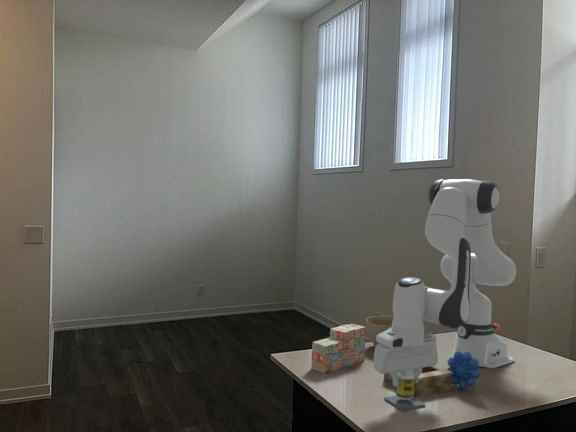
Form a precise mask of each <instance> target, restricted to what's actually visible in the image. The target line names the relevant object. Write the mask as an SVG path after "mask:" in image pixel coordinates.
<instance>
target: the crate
mask: <svg viewBox="0 0 576 432" xmlns="http://www.w3.org/2000/svg"><path fill="white" fill-rule="evenodd" d="M414 371H415V370H414V369H413V373H414ZM398 373H399V371H398ZM452 377H453V373H452V372H450V371H448V370H447V368H446V369H440V368H438V367H437V366H430V367H424V368H422V372H421V374H420V376H419V377H418V383H415V384H414V398H415V397H419V396H427V395H430V394H437V393H443V392H447V391H452V390H453V384H452ZM383 380H384V381H385V382H386V383H388V384H390V385H392V386H394V385H393V379H392V377H391V375H390V373H385V374H383ZM394 387H395V386H394Z"/></svg>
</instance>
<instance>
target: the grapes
mask: <svg viewBox="0 0 576 432" xmlns="http://www.w3.org/2000/svg"><path fill="white" fill-rule="evenodd" d="M471 358H472V355H471V353H470V352H468V351H467V352H464V353H463V354H462V353H461V352H459V351H457V352H456V353H455V354H454V358H453V357H452V356H451V357H449V358H448V359H447V362H446V363H447V366H448V367H447V368H446V370H448V371H450V372H452V373H453V376H452V386H458V387H459V389H461V390H466V389H467V388H468V387H470V388H473V387H474V386H476V385H477V379H478V378H479V377H481V375H482V372H481V369H479V368H478V367H479V366H478V365H479V361H478V360H477V359H476V358H472V359H471Z"/></svg>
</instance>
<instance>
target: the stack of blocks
mask: <svg viewBox="0 0 576 432" xmlns="http://www.w3.org/2000/svg"><path fill="white" fill-rule="evenodd" d="M366 332H367V326H363V325H360V324H355V323H350V324H349V323H348V324H347V323H346V324H343V325H339V326H336V327H332V328H330V331H329V337H327V338H323V339H318V340H315V341H312V347H311V348H312V349H311V366H310V367H311V370H314V371H316V372H318V373H322V374H328V373H330V372H335V371H336V370H340V369H343V368H345V367H348V366H352V365H354V364H357V363H361V362H363V361H364V362H365V354H366V353H365V352H366V338H367V337H366Z"/></svg>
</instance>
